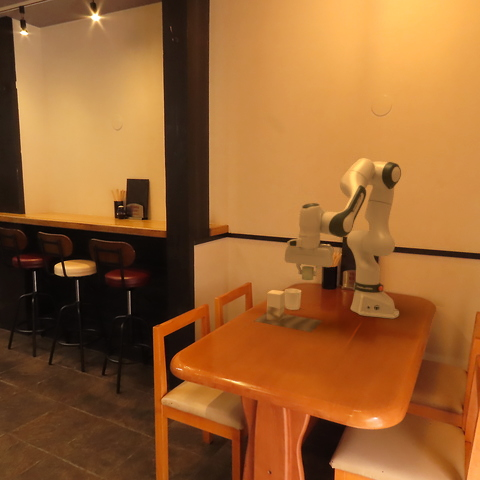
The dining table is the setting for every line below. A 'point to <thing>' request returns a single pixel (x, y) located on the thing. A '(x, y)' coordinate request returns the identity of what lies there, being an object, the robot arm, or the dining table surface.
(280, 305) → the tower top block
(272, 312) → the tower base block
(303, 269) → the green cylinder
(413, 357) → the dining table surface
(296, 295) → the white cup
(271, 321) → the walnut board
